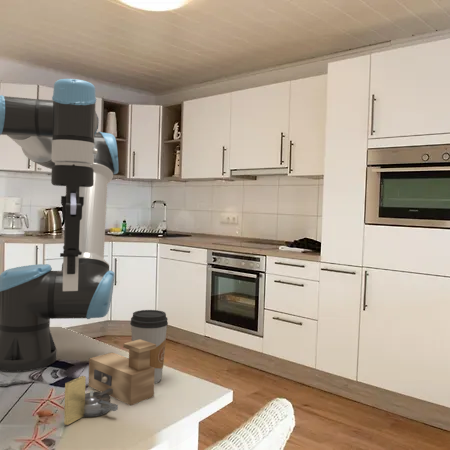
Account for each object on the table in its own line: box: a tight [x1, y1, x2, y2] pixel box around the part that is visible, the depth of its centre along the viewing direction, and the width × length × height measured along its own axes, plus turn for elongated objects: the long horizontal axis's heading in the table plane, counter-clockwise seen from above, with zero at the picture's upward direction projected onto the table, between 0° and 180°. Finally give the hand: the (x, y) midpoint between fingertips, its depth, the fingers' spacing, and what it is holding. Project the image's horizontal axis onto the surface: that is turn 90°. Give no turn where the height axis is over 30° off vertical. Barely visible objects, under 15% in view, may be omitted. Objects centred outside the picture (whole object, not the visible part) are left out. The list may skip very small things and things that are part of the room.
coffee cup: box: [130, 309, 169, 385], centre depth 106 cm, size 8×8×15 cm
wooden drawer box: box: [88, 339, 156, 406], centre depth 99 cm, size 14×7×11 cm, turn 50°
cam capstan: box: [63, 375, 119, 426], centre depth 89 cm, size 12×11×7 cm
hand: (70, 290), depth 90 cm, fingers closed
